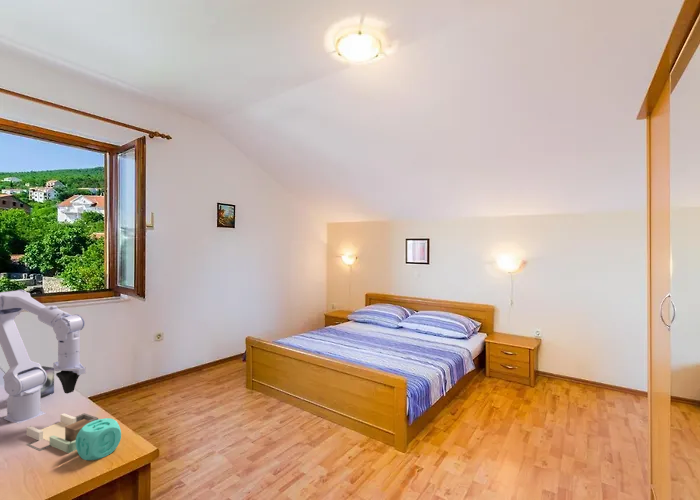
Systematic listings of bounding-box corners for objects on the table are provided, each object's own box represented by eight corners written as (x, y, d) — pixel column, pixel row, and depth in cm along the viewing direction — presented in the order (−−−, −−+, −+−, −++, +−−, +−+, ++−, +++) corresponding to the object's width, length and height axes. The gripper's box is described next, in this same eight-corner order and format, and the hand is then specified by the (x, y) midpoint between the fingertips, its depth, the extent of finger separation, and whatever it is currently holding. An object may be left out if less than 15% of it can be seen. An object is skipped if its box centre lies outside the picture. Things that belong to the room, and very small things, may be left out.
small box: (25, 405, 128) (25, 376, 128) (11, 403, 130) (11, 375, 129) (55, 393, 139) (55, 367, 138) (42, 391, 140) (42, 365, 140)
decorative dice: (105, 441, 105) (105, 415, 105) (121, 448, 102) (121, 421, 102) (75, 456, 98) (75, 428, 98) (91, 464, 95) (91, 435, 95)
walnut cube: (65, 443, 103) (65, 426, 103) (83, 435, 108) (83, 419, 108) (75, 447, 101) (75, 430, 101) (93, 438, 106) (93, 422, 106)
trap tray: (14, 441, 104) (14, 431, 104) (73, 418, 119) (73, 409, 119) (57, 460, 96) (57, 450, 96) (115, 432, 110) (115, 423, 110)
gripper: (42, 352, 116) (42, 392, 116) (68, 358, 110) (68, 401, 110) (66, 346, 122) (66, 385, 122) (92, 352, 116) (92, 392, 116)
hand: (69, 392), depth 117 cm, fingers closed
